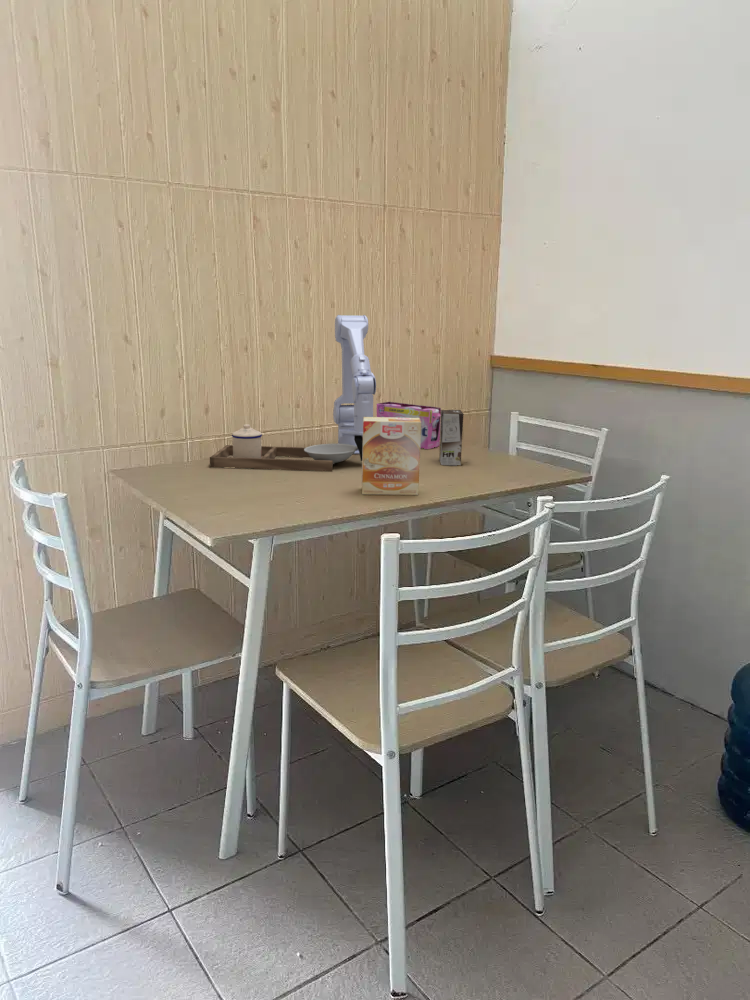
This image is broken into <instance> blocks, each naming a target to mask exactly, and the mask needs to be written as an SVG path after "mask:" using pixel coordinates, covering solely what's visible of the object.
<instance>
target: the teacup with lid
mask: <svg viewBox="0 0 750 1000" xmlns="http://www.w3.org/2000/svg"><path fill="white" fill-rule="evenodd" d="M262 436H263V434H262V432H261V431H259V430H257V429H254V428H253V427H251V425H250V424H249V423H248V424H247V423H246V424H243V427H241V428H239V429H238V430H235V431H232V433H231V437H232V440H231V441H232V444H231V445H233V455H232V457H234V458H262V457H263V456H262V446H263V445H262Z"/></svg>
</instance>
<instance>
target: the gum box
mask: <svg viewBox="0 0 750 1000" xmlns="http://www.w3.org/2000/svg"><path fill="white" fill-rule="evenodd" d="M441 410H442V408H441V407H436V406H428V405H422V404H421V405H417V404H411V403H403V402H395V401H385V402H379V403H378V402H377V403H376V417H394V418H419V419H420V421H421V444H420V449H422V448H424V450H429V449H435V448H437V447H438V446H439V447H440V424H441ZM434 447H435V448H434ZM439 447H438V448H439Z"/></svg>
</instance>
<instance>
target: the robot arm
mask: <svg viewBox="0 0 750 1000" xmlns="http://www.w3.org/2000/svg"><path fill="white" fill-rule="evenodd" d="M368 332H369V319H368V317H367V316H366V315H365V314H363V315H352V314H351V315H349V314H347V315H346V314H345V315H343V314H342V315H341V314H337V315H336V316H335V318H334V337H335V341H336V342H337V343H339V344H340V347H341V348H340V349H341V388H342V389H341V391H342V392H341V395H340V396H338V397H337V398H336V399H335V400H334V402H333V409H332V410H333V412H332V415H333V422H334V424H336V425H337V427H338V429H337V432H338V433H337V434H338V435H337V438H338V439H337V444H350V445H355V446H357V447H358V450H356V451H355V452H354V453H353V455H359V459H360V461H361V462H362V452H363V417H374V396H375V395H376V391H377V379H376V376H375V374H374V373H373V372H372V370H371V369H372V368H371V362H370V358H369V357H368V355H365V345H364V343H365V342H364V339H365V338H366V336H367V334H368Z"/></svg>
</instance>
